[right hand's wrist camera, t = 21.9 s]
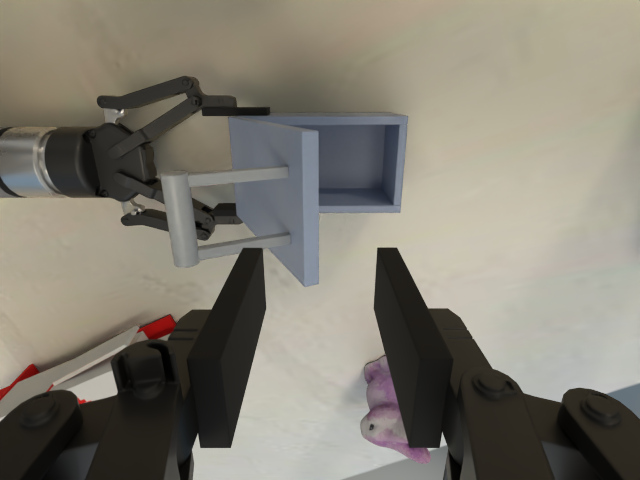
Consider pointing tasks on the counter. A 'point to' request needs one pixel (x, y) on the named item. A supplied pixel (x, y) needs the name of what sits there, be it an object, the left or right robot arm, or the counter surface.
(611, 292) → the counter surface
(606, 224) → the counter surface
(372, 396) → the figurine
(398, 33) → the counter surface
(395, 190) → the chest
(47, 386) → the toy
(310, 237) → the lid
